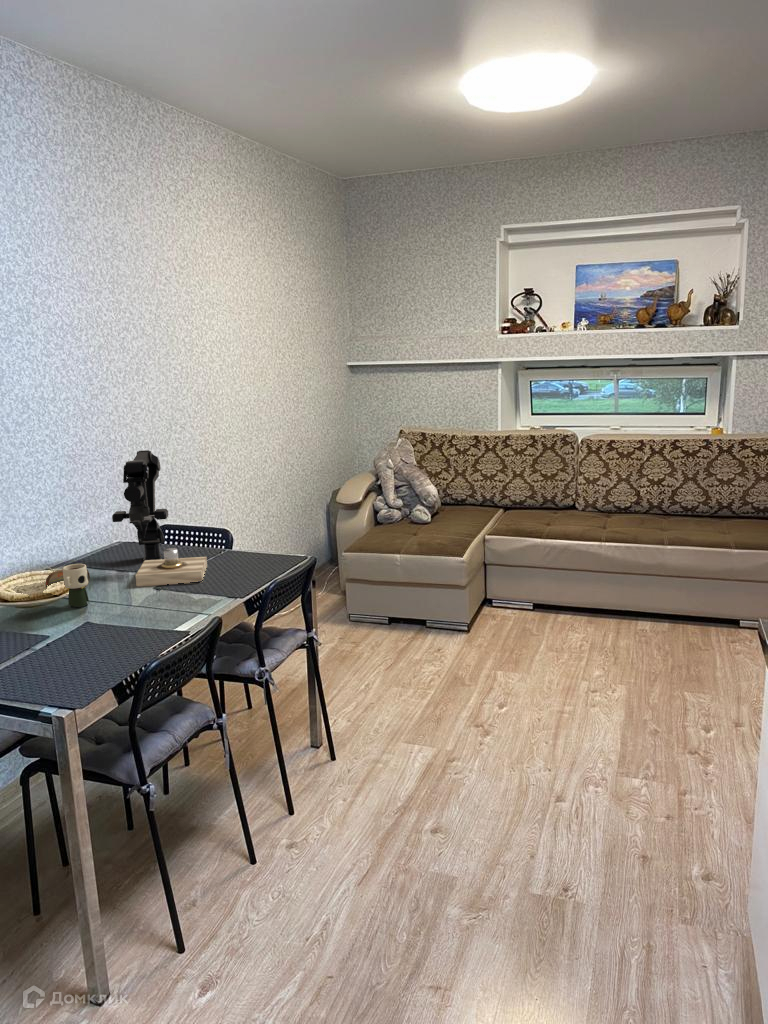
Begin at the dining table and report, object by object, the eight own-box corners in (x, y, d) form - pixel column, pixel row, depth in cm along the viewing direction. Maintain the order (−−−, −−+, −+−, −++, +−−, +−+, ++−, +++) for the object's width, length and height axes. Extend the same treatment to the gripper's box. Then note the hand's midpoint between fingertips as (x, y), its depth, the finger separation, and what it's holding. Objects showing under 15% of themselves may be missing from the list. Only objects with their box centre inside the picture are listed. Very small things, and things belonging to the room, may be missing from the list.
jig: (145, 570, 285) (144, 560, 284) (207, 567, 287) (206, 556, 286) (136, 586, 268) (135, 575, 267) (202, 582, 270) (201, 571, 269)
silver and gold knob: (164, 573, 280) (161, 547, 278) (184, 571, 281) (182, 546, 279) (161, 579, 274) (158, 553, 271) (181, 577, 274) (179, 552, 272)
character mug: (81, 611, 245) (76, 572, 242) (59, 611, 246) (54, 571, 243) (97, 600, 255) (93, 561, 252) (77, 599, 256) (72, 561, 253)
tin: (50, 599, 257) (47, 575, 255) (45, 597, 259) (42, 573, 257) (91, 586, 269) (88, 563, 267) (86, 585, 271) (83, 562, 269)
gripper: (106, 502, 271) (111, 546, 274) (161, 499, 273) (166, 542, 276) (113, 495, 282) (118, 537, 285) (166, 493, 284) (170, 534, 287)
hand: (142, 538), depth 283 cm, fingers closed
